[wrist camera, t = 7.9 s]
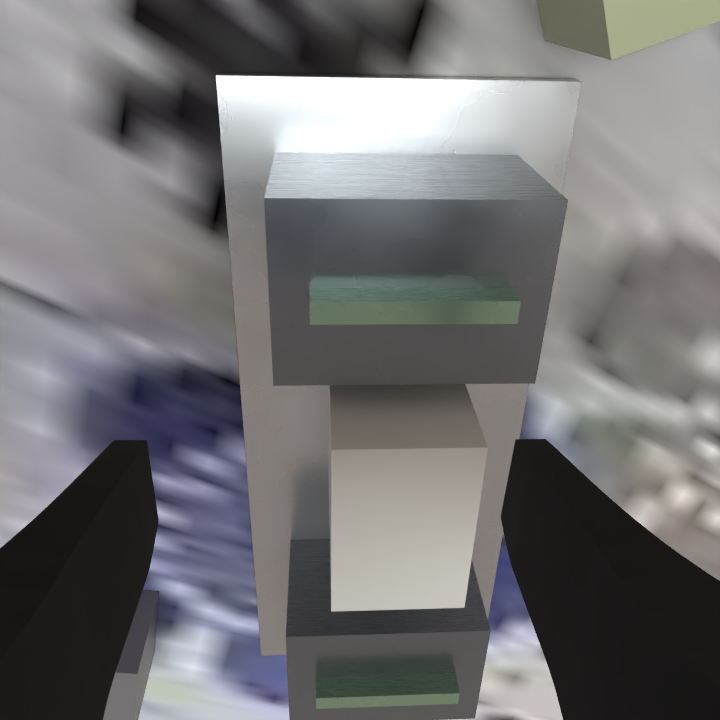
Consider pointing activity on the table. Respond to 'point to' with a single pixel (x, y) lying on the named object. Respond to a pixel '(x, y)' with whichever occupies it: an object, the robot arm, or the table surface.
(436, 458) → the block
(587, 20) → the olive block
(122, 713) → the charcoal block
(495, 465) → the rail station
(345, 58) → the table surface
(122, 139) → the table surface
